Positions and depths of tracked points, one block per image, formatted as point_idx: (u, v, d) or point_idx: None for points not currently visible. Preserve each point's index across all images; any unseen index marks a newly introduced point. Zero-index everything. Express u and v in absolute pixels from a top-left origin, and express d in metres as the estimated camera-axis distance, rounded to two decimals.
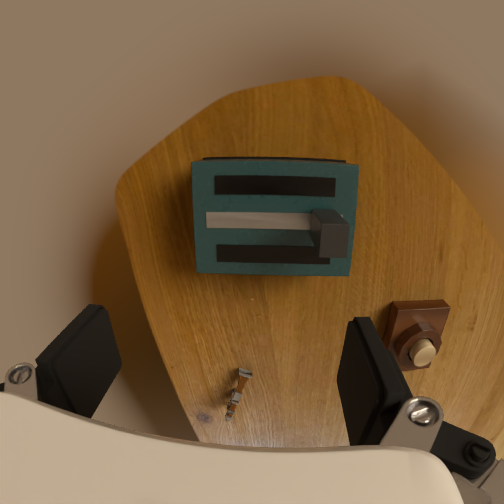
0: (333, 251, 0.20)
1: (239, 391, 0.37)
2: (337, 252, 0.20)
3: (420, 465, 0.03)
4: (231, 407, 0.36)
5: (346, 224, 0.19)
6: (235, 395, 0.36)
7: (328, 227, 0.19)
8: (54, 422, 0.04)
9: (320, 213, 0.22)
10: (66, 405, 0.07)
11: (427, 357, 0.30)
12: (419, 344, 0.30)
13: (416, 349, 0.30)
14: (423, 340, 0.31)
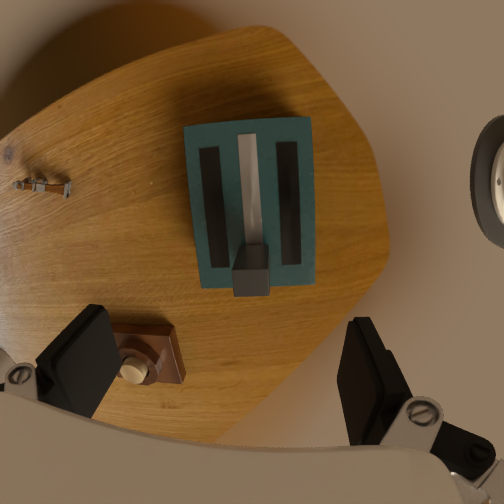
0: (239, 283, 0.20)
1: (46, 189, 0.28)
2: (239, 287, 0.20)
3: (420, 465, 0.03)
4: (27, 185, 0.26)
5: (269, 292, 0.20)
6: (41, 185, 0.27)
7: (264, 275, 0.19)
8: (54, 422, 0.04)
9: None
10: (66, 405, 0.07)
11: (131, 376, 0.32)
12: (141, 365, 0.32)
13: (136, 364, 0.32)
14: (145, 368, 0.33)
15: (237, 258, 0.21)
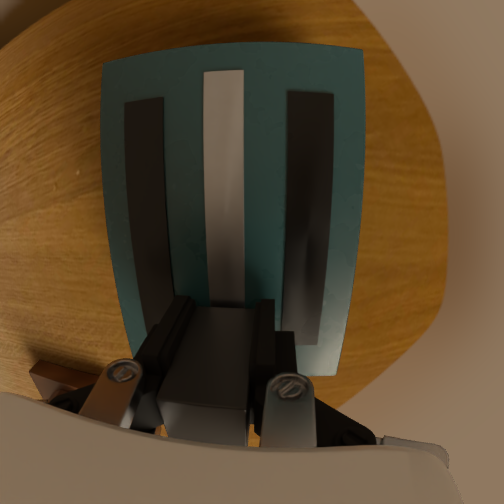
0: (178, 423, 0.07)
1: None
2: (178, 429, 0.07)
3: (420, 465, 0.03)
4: None
5: (246, 442, 0.07)
6: None
7: (237, 419, 0.07)
8: (54, 422, 0.04)
9: None
10: None
11: None
12: None
13: None
14: None
15: (180, 352, 0.09)
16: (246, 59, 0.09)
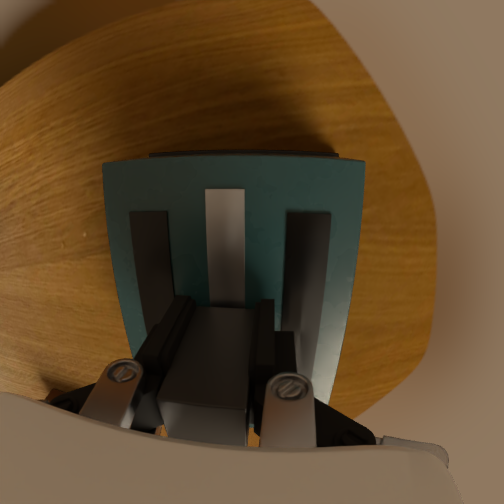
0: (177, 423, 0.07)
1: None
2: (178, 429, 0.07)
3: (420, 465, 0.03)
4: None
5: (246, 442, 0.07)
6: None
7: (237, 420, 0.07)
8: (54, 422, 0.04)
9: None
10: None
11: None
12: None
13: None
14: None
15: (180, 352, 0.09)
16: (247, 176, 0.10)
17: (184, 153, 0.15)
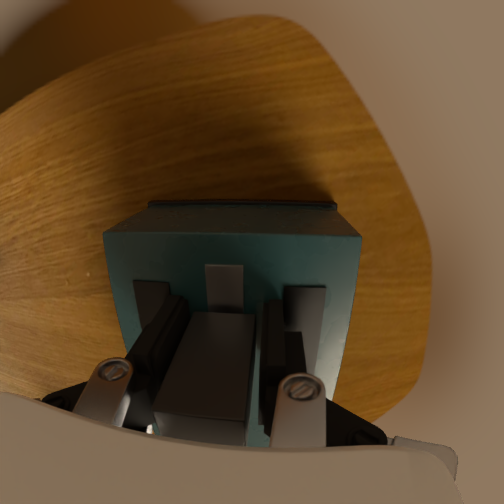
0: (174, 433, 0.07)
1: None
2: None
3: (420, 465, 0.03)
4: None
5: None
6: None
7: (235, 431, 0.06)
8: (54, 422, 0.04)
9: (252, 353, 0.09)
10: None
11: None
12: None
13: None
14: None
15: (177, 360, 0.08)
16: (245, 253, 0.11)
17: (183, 203, 0.16)
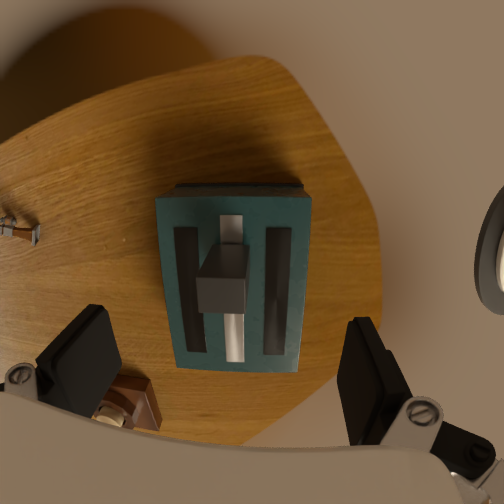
0: (206, 295, 0.14)
1: (14, 233, 0.24)
2: (206, 301, 0.14)
3: (420, 465, 0.03)
4: None
5: (245, 309, 0.15)
6: (8, 229, 0.23)
7: (240, 287, 0.14)
8: (54, 422, 0.04)
9: (248, 262, 0.17)
10: (66, 405, 0.07)
11: None
12: (117, 416, 0.29)
13: (112, 415, 0.28)
14: (122, 418, 0.29)
15: (206, 261, 0.16)
16: (243, 208, 0.18)
17: (200, 185, 0.23)
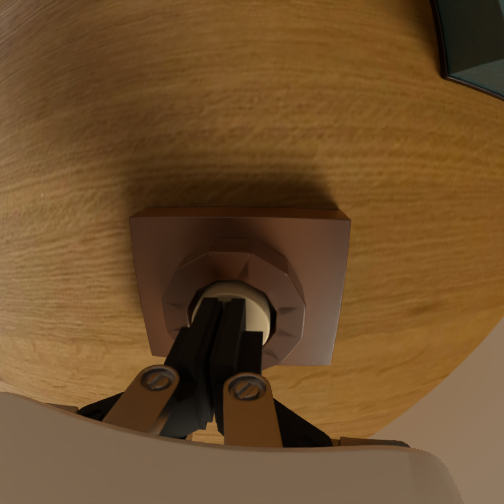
0: None
1: None
2: None
3: (420, 465, 0.03)
4: None
5: None
6: None
7: None
8: (54, 422, 0.04)
9: None
10: (200, 405, 0.08)
11: None
12: (263, 299, 0.12)
13: (252, 293, 0.12)
14: (269, 309, 0.13)
15: None
16: None
17: None
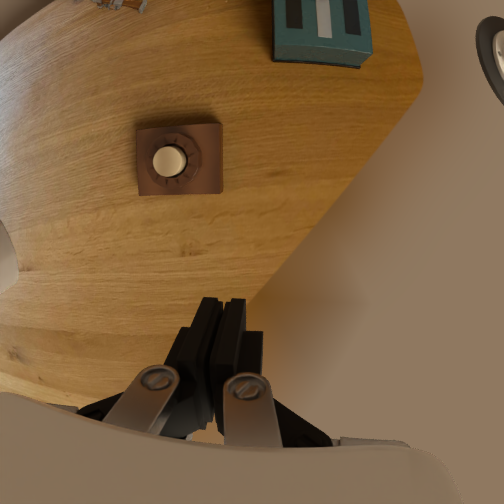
0: None
1: (124, 2, 0.25)
2: None
3: (420, 465, 0.03)
4: None
5: None
6: None
7: None
8: (54, 422, 0.04)
9: None
10: (201, 405, 0.08)
11: (165, 165, 0.29)
12: (181, 152, 0.29)
13: (176, 148, 0.29)
14: (184, 158, 0.30)
15: None
16: None
17: None
